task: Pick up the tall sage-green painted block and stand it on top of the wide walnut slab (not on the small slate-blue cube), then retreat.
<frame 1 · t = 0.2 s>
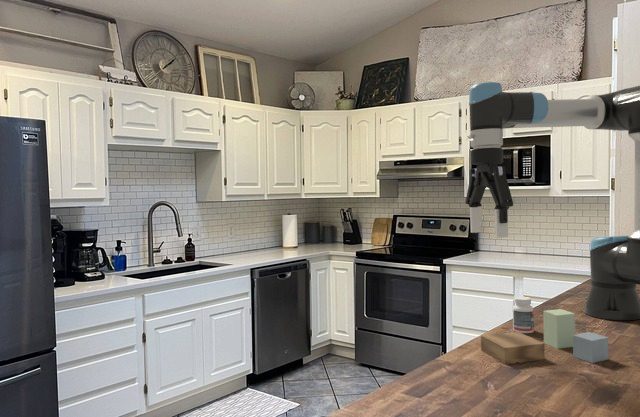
hand: (488, 234, 130), 27 cm above the countertop, fingers open, 13 cm apart
slate cube: (590, 358, 119), on the countertop
sage block: (559, 344, 129), on the countertop
walnut slab: (512, 356, 123), on the countertop
pill bottle: (523, 331, 141), on the countertop
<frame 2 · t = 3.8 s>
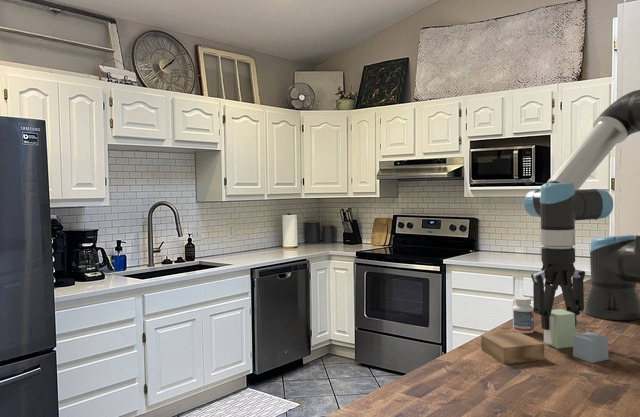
hand: (559, 341, 129), 1 cm above the countertop, fingers closed on sage block, 5 cm apart
sage block: (559, 344, 129), on the countertop, touching gripper
everything else where it was.
when the fingers open (6 cm above the countertop, at t = 9.0 s): sage block drops 1 cm, point 4 cm above the countertop.
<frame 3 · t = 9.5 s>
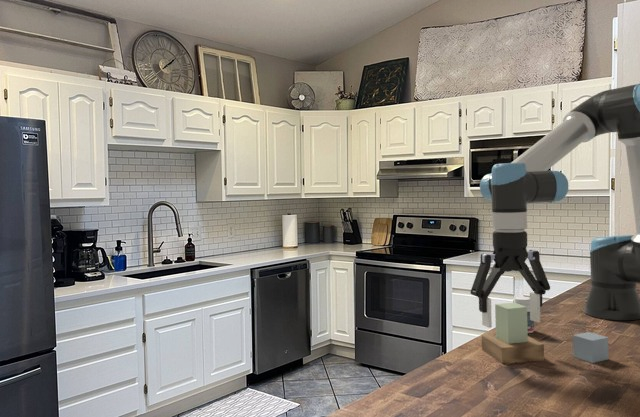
hand: (511, 323, 122), 7 cm above the countertop, fingers open, 12 cm apart
sage block: (511, 339, 122), point 4 cm above the countertop
everything else where it was.
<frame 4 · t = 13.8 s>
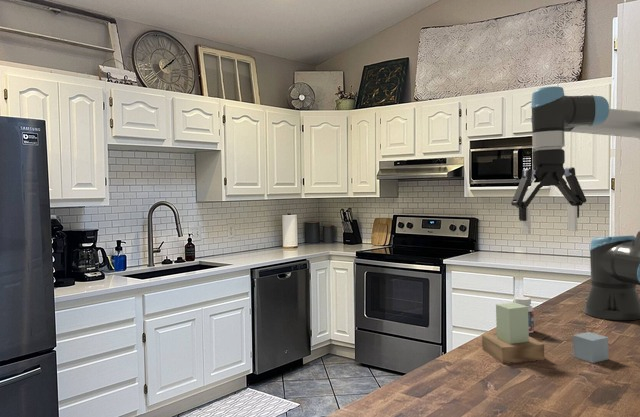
hand: (549, 232, 135), 27 cm above the countertop, fingers open, 13 cm apart
nothing on the countertop moved.
at the end: sage block inside the target area on the walnut slab (0.4 cm from its centre), point 4.0 cm above the walnut slab's base; sage block tilted 1°; the gripper is holding nothing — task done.
